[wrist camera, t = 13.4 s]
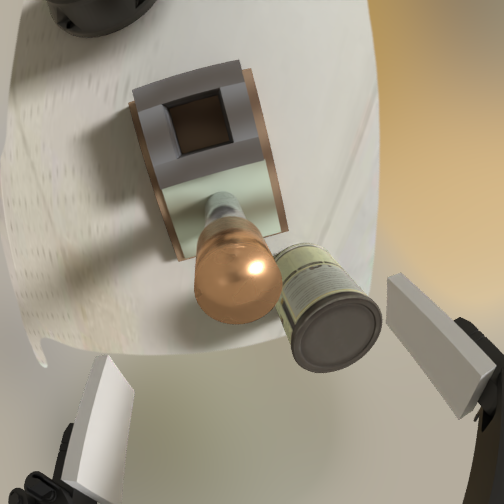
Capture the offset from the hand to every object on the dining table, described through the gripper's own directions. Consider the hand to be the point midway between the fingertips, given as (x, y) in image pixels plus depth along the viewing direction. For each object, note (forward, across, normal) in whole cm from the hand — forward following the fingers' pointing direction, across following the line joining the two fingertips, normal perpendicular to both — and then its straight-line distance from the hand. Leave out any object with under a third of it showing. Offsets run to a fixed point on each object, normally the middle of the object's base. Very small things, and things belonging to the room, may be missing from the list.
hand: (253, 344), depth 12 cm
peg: (+23, 0, 0) cm, 23 cm away
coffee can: (+26, +8, -14) cm, 30 cm away
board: (+26, 0, +4) cm, 26 cm away
